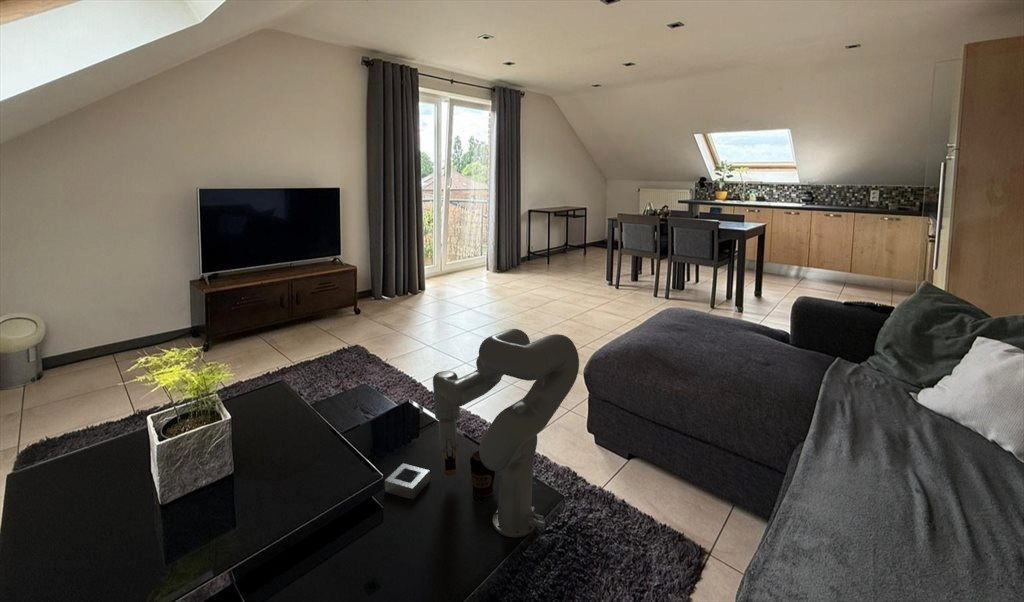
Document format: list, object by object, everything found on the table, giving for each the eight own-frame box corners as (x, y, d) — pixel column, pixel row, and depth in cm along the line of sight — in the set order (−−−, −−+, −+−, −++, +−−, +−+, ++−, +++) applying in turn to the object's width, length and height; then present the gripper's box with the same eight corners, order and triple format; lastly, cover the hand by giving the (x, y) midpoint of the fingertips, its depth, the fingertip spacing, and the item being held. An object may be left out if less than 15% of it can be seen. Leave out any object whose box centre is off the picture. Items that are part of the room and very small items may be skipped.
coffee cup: (492, 502, 149) (493, 464, 145) (466, 498, 150) (466, 461, 147) (499, 485, 157) (499, 449, 154) (474, 481, 159) (474, 445, 155)
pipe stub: (461, 469, 156) (460, 443, 154) (454, 477, 152) (452, 451, 149) (447, 466, 158) (446, 440, 156) (440, 474, 153) (438, 448, 151)
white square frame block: (429, 481, 158) (429, 470, 157) (412, 499, 149) (412, 488, 148) (403, 473, 162) (403, 463, 161) (385, 491, 153) (384, 480, 152)
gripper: (435, 400, 158) (438, 452, 162) (434, 425, 141) (438, 481, 145) (458, 398, 159) (461, 449, 163) (460, 423, 142) (463, 479, 147)
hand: (450, 464), depth 154 cm, fingers closed on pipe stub, 4 cm apart
